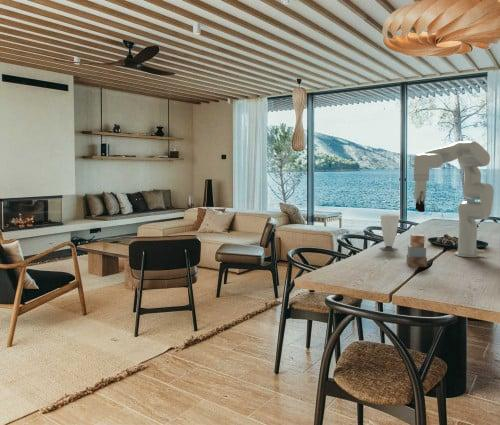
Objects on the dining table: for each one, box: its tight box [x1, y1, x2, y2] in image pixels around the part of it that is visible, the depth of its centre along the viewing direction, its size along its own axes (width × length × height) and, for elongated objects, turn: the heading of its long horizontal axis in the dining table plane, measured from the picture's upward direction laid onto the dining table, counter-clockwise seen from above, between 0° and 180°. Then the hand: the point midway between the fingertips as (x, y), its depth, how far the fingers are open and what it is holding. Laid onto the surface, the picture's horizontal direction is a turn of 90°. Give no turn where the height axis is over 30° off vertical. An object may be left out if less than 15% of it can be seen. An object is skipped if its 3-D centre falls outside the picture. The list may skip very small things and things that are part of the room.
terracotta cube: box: [409, 233, 426, 248], centre depth 236 cm, size 6×6×6 cm
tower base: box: [406, 253, 428, 268], centre depth 238 cm, size 9×9×5 cm
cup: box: [379, 213, 400, 252], centre depth 281 cm, size 12×12×22 cm
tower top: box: [407, 244, 427, 257], centre depth 237 cm, size 8×8×5 cm
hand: (419, 210), depth 236 cm, fingers open, 9 cm apart
